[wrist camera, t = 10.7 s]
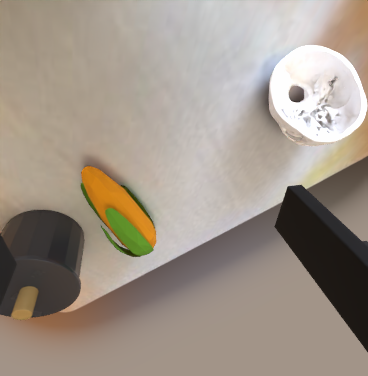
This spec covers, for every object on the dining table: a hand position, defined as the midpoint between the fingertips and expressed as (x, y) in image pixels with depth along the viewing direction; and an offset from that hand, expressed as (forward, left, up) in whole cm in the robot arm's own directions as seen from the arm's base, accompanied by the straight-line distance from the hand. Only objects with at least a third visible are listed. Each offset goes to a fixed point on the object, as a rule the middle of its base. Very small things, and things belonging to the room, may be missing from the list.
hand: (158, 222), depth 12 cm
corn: (+19, -4, -27) cm, 33 cm away
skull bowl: (+2, +25, -27) cm, 37 cm away
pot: (+25, -17, -27) cm, 40 cm away
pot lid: (+25, -17, -17) cm, 35 cm away
